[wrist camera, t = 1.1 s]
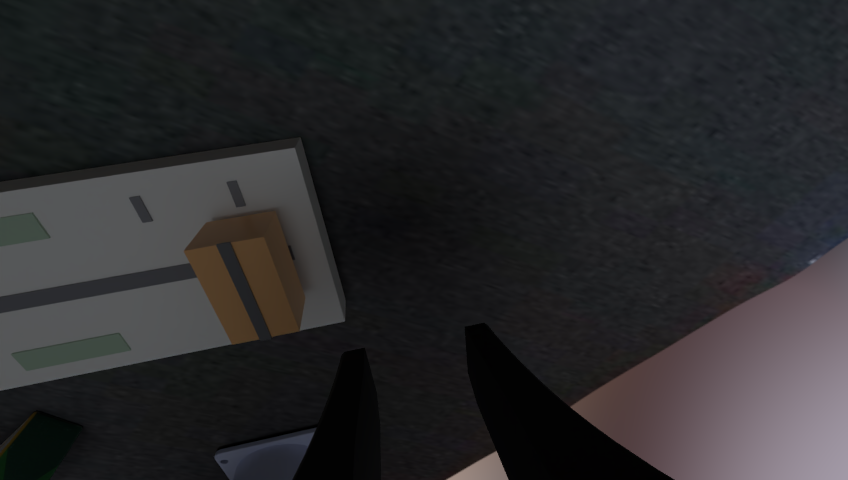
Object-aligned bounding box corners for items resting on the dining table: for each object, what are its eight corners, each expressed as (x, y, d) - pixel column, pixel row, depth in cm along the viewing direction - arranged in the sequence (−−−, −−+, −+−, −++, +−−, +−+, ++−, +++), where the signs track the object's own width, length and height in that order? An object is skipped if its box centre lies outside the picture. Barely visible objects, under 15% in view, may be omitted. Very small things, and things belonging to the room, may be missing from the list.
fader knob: (305, 298, 19) (299, 333, 17) (246, 309, 18) (231, 347, 16) (275, 209, 16) (263, 237, 14) (205, 221, 16) (181, 251, 14)
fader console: (345, 299, 22) (345, 322, 20) (-50, 376, 20) (-90, 409, 18) (300, 137, 17) (294, 148, 16) (-231, 216, 15) (-310, 240, 13)
